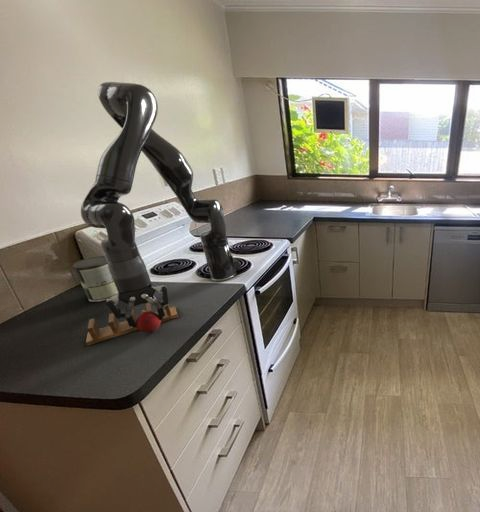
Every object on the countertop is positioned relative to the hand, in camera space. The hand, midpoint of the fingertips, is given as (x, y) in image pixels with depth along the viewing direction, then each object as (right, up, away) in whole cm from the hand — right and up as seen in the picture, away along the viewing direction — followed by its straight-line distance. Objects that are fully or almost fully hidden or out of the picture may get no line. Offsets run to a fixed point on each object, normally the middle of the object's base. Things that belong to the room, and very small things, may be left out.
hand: (148, 321), depth 87 cm
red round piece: (0, -4, +2) cm, 4 cm away
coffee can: (-34, +5, +22) cm, 41 cm away
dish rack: (-8, -2, +4) cm, 9 cm away
